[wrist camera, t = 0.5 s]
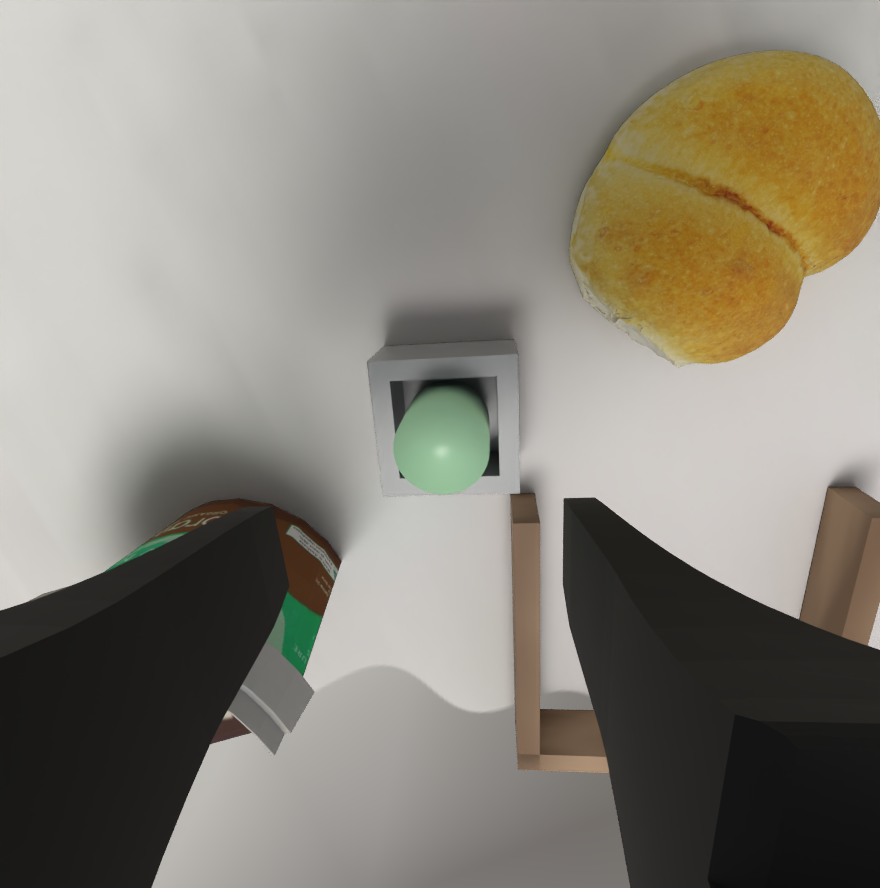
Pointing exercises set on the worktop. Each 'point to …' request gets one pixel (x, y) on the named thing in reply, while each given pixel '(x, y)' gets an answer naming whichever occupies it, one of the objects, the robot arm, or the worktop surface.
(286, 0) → the worktop surface
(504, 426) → the button housing
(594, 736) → the walnut pocket
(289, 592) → the food container
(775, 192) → the bread roll
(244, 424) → the worktop surface
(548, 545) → the worktop surface
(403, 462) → the button
